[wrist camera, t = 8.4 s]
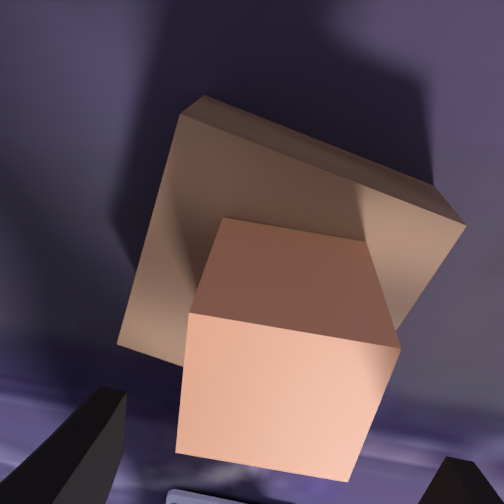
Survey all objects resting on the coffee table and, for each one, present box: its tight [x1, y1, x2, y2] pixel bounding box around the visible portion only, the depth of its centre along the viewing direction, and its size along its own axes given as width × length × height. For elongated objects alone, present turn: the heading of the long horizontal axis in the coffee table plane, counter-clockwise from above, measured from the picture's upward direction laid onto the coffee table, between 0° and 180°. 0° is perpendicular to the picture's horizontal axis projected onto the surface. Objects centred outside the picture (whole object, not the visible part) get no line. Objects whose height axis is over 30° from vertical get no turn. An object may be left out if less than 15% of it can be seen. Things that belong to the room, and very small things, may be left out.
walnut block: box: [117, 95, 467, 367], centre depth 17 cm, size 9×9×4 cm
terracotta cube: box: [175, 218, 401, 482], centre depth 12 cm, size 4×4×5 cm
